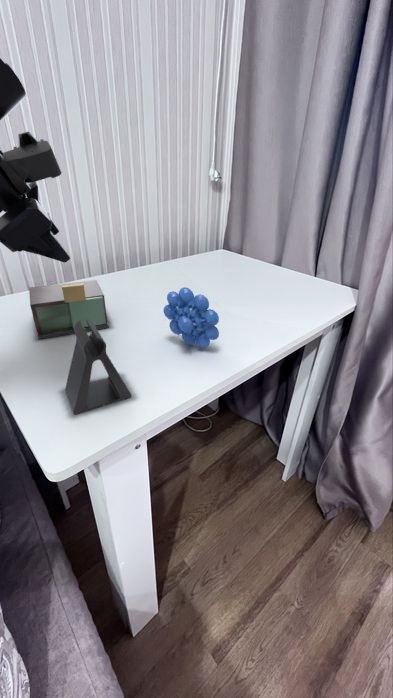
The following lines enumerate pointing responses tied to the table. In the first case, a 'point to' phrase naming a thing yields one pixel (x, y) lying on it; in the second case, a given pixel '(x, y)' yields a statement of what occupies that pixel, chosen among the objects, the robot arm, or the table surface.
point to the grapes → (191, 317)
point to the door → (83, 305)
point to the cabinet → (58, 309)
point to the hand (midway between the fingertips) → (62, 246)
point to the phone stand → (78, 382)
